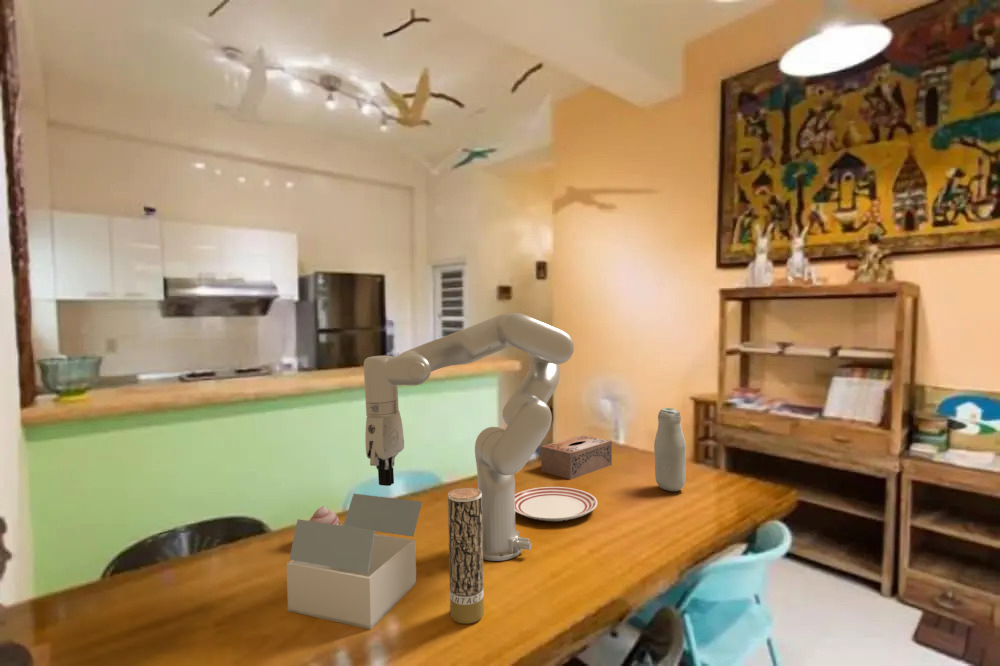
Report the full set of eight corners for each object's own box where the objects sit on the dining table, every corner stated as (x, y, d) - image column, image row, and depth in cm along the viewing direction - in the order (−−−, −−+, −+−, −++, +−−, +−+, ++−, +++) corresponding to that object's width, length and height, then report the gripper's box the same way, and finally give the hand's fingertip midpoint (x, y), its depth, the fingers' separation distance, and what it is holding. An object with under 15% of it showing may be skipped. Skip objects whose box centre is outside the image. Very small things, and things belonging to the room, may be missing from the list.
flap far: (412, 536, 116) (413, 536, 117) (421, 501, 120) (422, 502, 120) (343, 526, 123) (343, 526, 123) (353, 493, 127) (354, 493, 127)
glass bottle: (688, 488, 177) (688, 407, 176) (681, 497, 168) (681, 412, 167) (659, 483, 182) (659, 404, 181) (651, 492, 173) (650, 409, 172)
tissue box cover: (570, 480, 188) (570, 453, 187) (541, 471, 198) (541, 446, 198) (611, 465, 205) (611, 440, 205) (582, 458, 216) (582, 434, 215)
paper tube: (450, 607, 107) (448, 488, 106) (483, 605, 107) (481, 486, 106) (450, 626, 100) (447, 500, 99) (484, 624, 100) (482, 498, 100)
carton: (416, 583, 116) (415, 539, 116) (370, 629, 100) (369, 578, 99) (342, 569, 123) (341, 528, 123) (288, 611, 106) (286, 563, 106)
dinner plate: (494, 521, 152) (494, 509, 151) (525, 491, 177) (525, 481, 177) (586, 534, 141) (586, 522, 141) (605, 500, 167) (605, 490, 166)
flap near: (290, 559, 106) (289, 559, 106) (298, 519, 108) (297, 519, 108) (368, 573, 100) (367, 573, 100) (375, 530, 102) (374, 530, 102)
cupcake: (348, 536, 142) (347, 501, 141) (330, 552, 133) (329, 514, 132) (318, 534, 144) (317, 498, 143) (298, 549, 135) (297, 511, 134)
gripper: (378, 415, 113) (382, 496, 114) (412, 402, 127) (415, 475, 128) (349, 414, 116) (354, 494, 117) (385, 402, 130) (389, 473, 131)
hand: (386, 484), depth 122 cm, fingers closed
